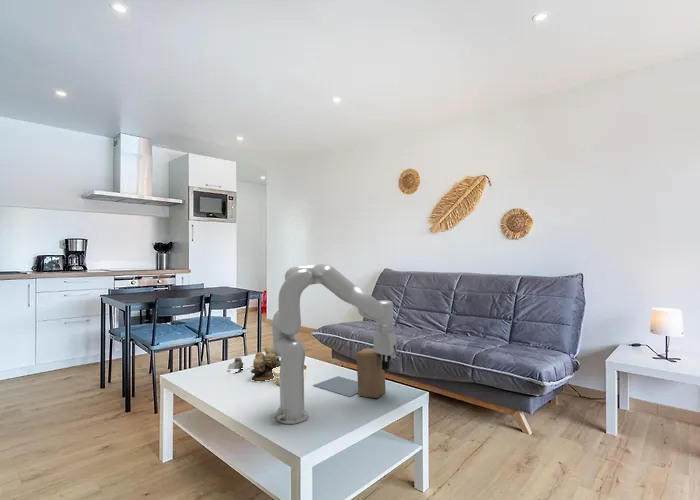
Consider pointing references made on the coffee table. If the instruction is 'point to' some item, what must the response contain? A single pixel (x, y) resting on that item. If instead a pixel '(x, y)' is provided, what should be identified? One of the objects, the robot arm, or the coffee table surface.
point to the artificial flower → (236, 364)
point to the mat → (340, 386)
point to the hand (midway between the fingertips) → (385, 369)
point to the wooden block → (370, 374)
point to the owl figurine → (265, 364)
